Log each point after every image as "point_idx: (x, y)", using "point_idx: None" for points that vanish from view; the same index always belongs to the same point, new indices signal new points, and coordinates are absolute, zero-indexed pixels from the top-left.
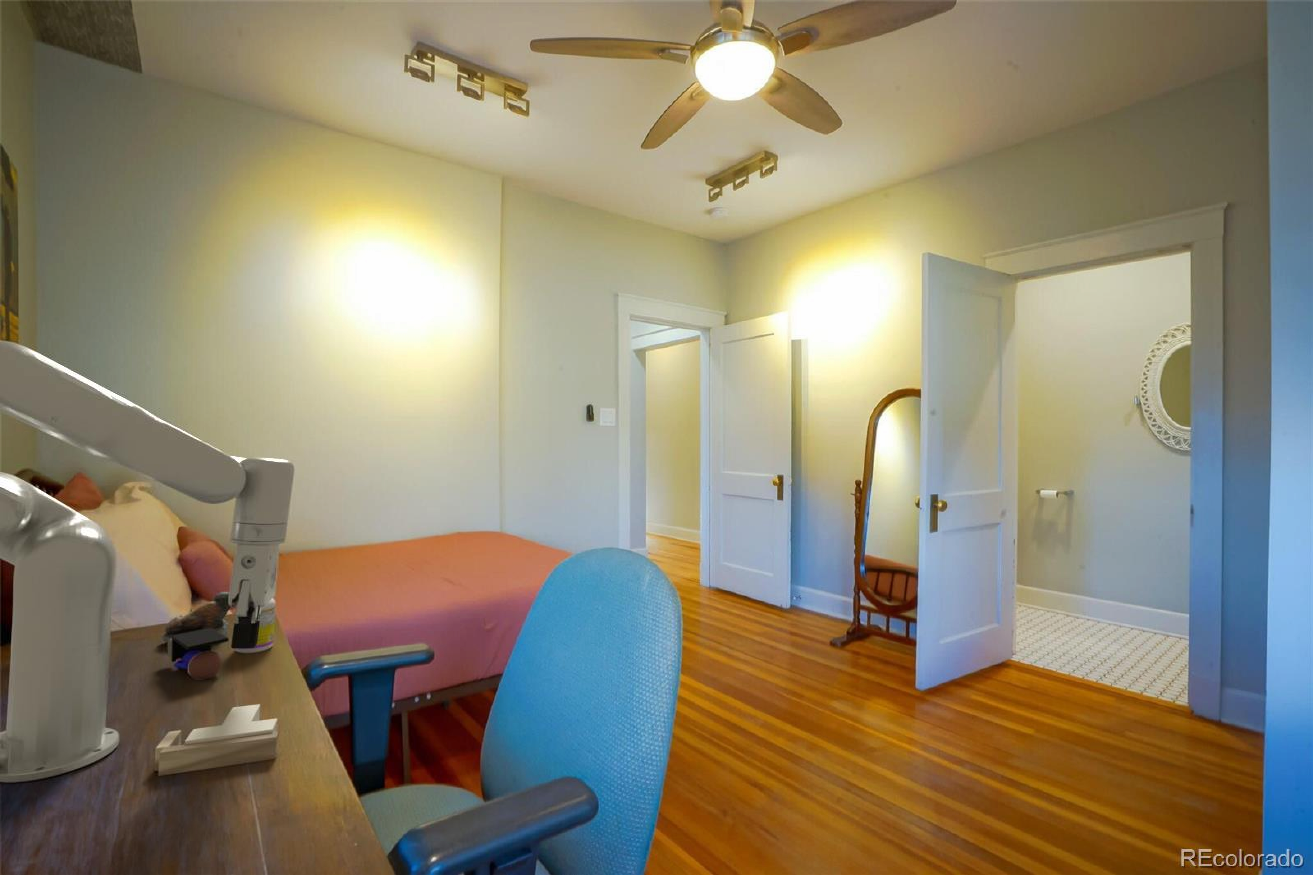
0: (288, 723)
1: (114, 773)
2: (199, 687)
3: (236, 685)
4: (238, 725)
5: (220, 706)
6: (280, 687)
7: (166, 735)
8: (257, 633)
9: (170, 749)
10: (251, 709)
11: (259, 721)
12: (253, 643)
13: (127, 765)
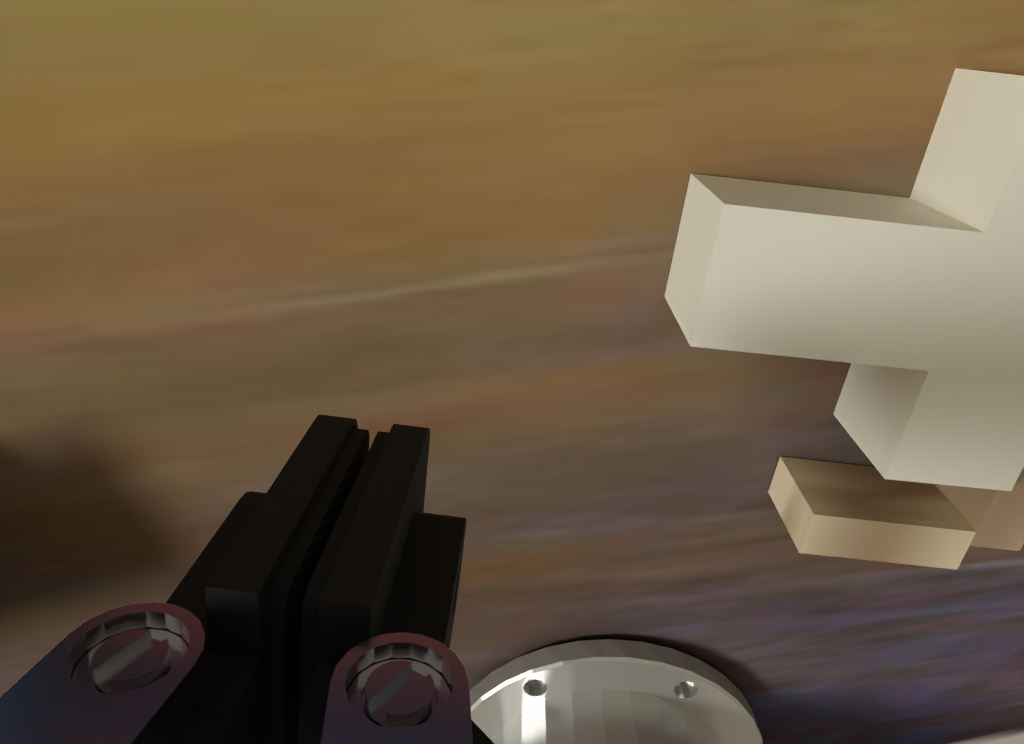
0: (724, 11)
1: (833, 603)
2: (23, 485)
3: (19, 336)
4: (992, 292)
5: (314, 375)
6: (94, 93)
7: (837, 555)
8: (320, 485)
9: (1015, 522)
10: (785, 247)
11: (1016, 186)
12: (421, 456)
13: (790, 583)
